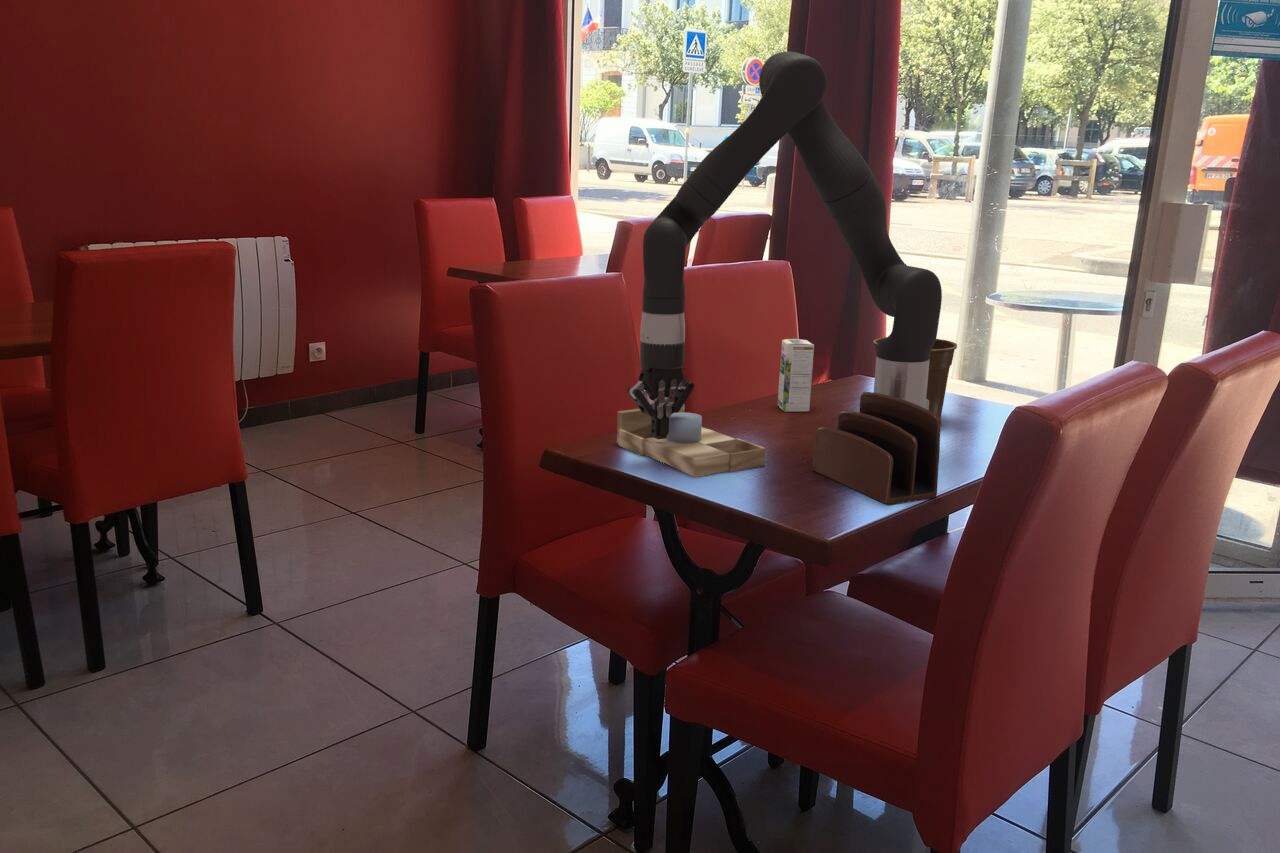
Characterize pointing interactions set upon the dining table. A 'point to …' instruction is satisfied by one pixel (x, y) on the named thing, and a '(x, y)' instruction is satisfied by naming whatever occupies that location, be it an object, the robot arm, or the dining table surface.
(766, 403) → the dining table surface
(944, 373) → the plant pot
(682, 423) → the grey rounded block
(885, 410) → the letter holder
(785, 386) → the syrup box
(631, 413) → the tray
